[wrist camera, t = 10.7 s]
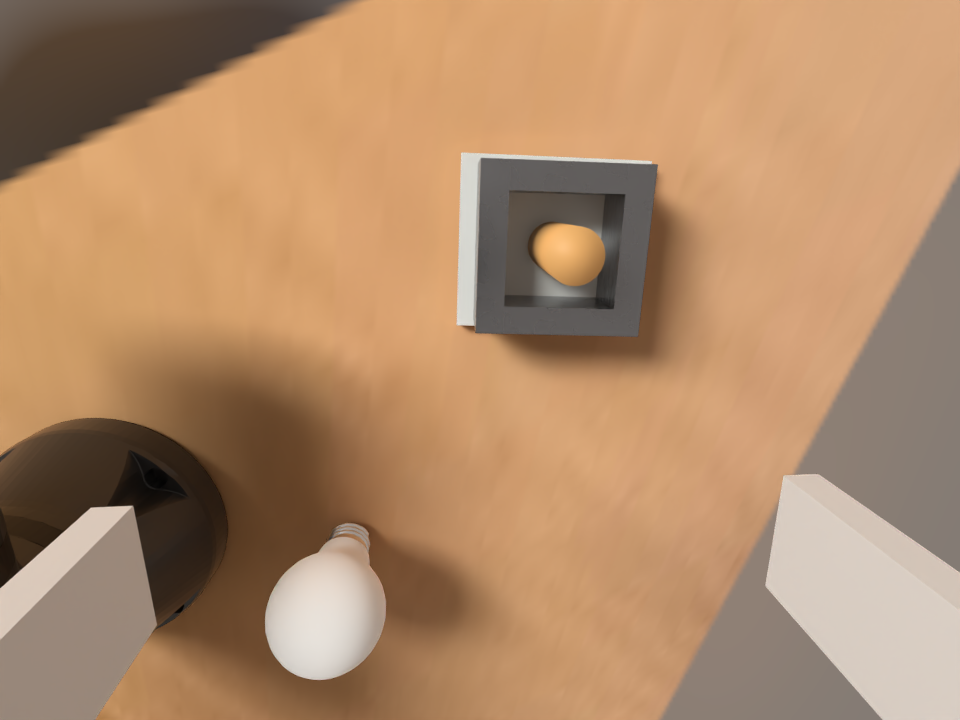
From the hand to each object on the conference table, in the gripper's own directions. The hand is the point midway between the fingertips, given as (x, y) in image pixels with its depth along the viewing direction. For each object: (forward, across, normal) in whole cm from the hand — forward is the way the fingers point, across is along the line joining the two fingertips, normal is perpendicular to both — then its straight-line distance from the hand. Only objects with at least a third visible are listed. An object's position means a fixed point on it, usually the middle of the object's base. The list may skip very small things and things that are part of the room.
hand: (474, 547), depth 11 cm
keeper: (+24, +6, +4) cm, 25 cm away
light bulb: (+25, -7, -16) cm, 30 cm away
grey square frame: (+23, +6, +4) cm, 24 cm away
